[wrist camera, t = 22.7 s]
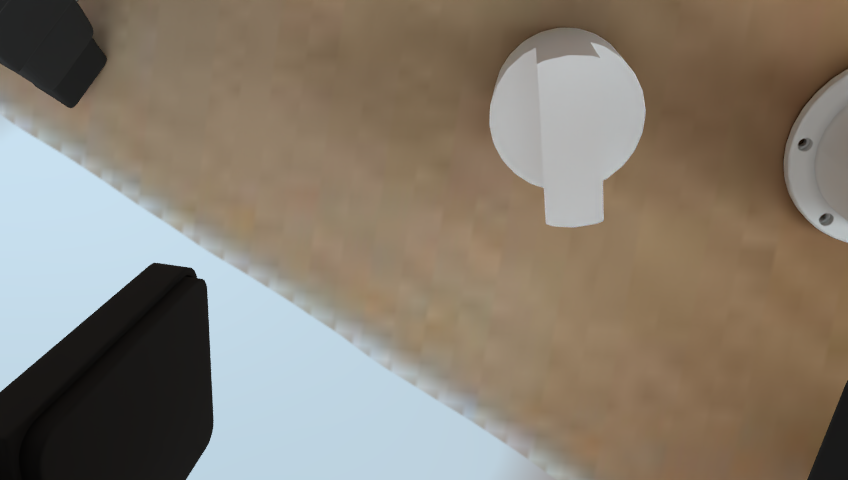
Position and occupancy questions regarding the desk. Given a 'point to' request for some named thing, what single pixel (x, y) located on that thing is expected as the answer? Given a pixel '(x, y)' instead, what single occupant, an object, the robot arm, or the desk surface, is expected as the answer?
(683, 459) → the desk surface
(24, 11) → the handheld device
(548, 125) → the base with upright slab
